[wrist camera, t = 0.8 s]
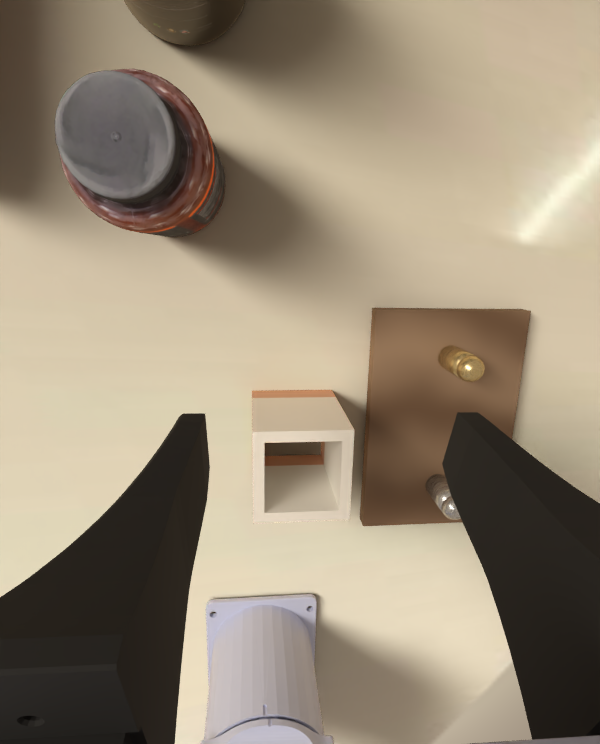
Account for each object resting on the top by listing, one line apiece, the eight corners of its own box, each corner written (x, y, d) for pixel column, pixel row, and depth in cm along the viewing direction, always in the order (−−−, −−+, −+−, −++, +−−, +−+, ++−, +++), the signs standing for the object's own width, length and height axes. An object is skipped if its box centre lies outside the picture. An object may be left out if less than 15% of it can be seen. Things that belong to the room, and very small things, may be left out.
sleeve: (328, 462, 32) (349, 519, 25) (252, 464, 31) (252, 523, 24) (331, 389, 30) (354, 429, 24) (252, 390, 30) (252, 431, 23)
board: (492, 512, 34) (499, 520, 33) (359, 517, 33) (363, 526, 32) (521, 309, 30) (530, 311, 29) (372, 308, 29) (376, 310, 28)
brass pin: (460, 369, 30) (488, 385, 26) (436, 369, 30) (461, 385, 26) (463, 345, 29) (491, 357, 26) (439, 345, 29) (464, 358, 26)
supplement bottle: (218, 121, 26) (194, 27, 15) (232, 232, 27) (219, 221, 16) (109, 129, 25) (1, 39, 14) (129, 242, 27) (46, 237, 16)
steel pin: (446, 494, 32) (470, 524, 29) (424, 495, 32) (445, 525, 29) (449, 473, 32) (473, 501, 28) (426, 474, 32) (447, 502, 28)
